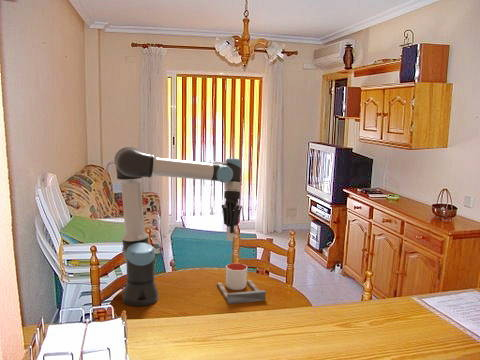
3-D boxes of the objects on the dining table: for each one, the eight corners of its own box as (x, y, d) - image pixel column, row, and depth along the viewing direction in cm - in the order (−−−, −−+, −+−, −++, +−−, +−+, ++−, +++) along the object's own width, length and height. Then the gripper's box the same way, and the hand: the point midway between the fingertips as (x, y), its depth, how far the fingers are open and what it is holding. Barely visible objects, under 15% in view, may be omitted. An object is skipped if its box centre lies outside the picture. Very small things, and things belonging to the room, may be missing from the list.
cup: (227, 281, 202) (228, 262, 201) (247, 283, 201) (248, 264, 200) (223, 290, 193) (224, 269, 191) (244, 292, 191) (245, 271, 190)
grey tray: (217, 285, 197) (217, 277, 197) (250, 282, 202) (251, 274, 202) (228, 304, 178) (228, 295, 178) (265, 300, 183) (265, 291, 183)
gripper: (218, 190, 202) (215, 238, 200) (235, 190, 192) (232, 241, 190) (229, 191, 207) (227, 238, 205) (247, 191, 197) (244, 241, 195)
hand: (229, 239), depth 198 cm, fingers closed
